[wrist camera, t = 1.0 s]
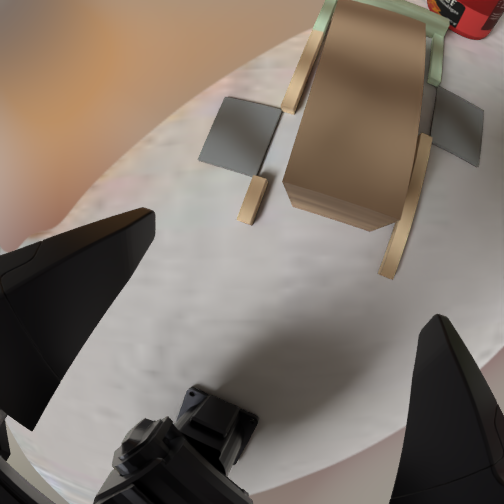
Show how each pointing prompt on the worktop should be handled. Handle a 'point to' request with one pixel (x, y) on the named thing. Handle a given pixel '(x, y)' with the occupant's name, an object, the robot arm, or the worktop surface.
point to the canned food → (469, 15)
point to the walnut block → (360, 119)
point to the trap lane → (266, 118)
